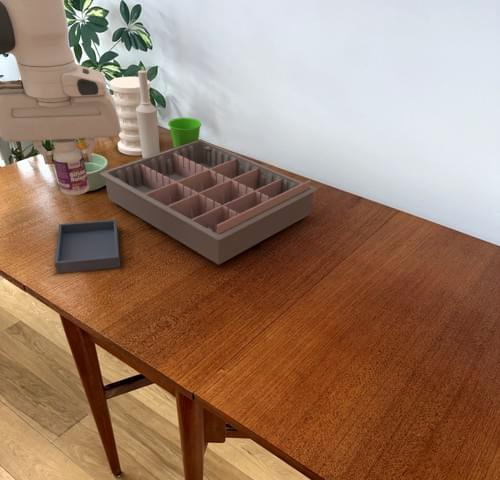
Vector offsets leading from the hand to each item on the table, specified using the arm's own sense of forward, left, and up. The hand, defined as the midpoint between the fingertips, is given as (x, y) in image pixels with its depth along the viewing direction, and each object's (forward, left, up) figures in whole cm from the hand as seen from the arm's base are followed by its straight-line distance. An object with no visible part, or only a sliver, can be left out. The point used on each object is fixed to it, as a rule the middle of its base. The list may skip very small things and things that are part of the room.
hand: (69, 161), depth 86 cm
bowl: (-1, +33, -19) cm, 38 cm away
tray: (0, 0, -19) cm, 19 cm away
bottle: (+17, +36, -19) cm, 44 cm away
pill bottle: (0, 0, -6) cm, 6 cm away
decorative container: (+13, +54, -19) cm, 59 cm away
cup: (+27, +41, -19) cm, 52 cm away
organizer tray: (+28, +12, -19) cm, 36 cm away
